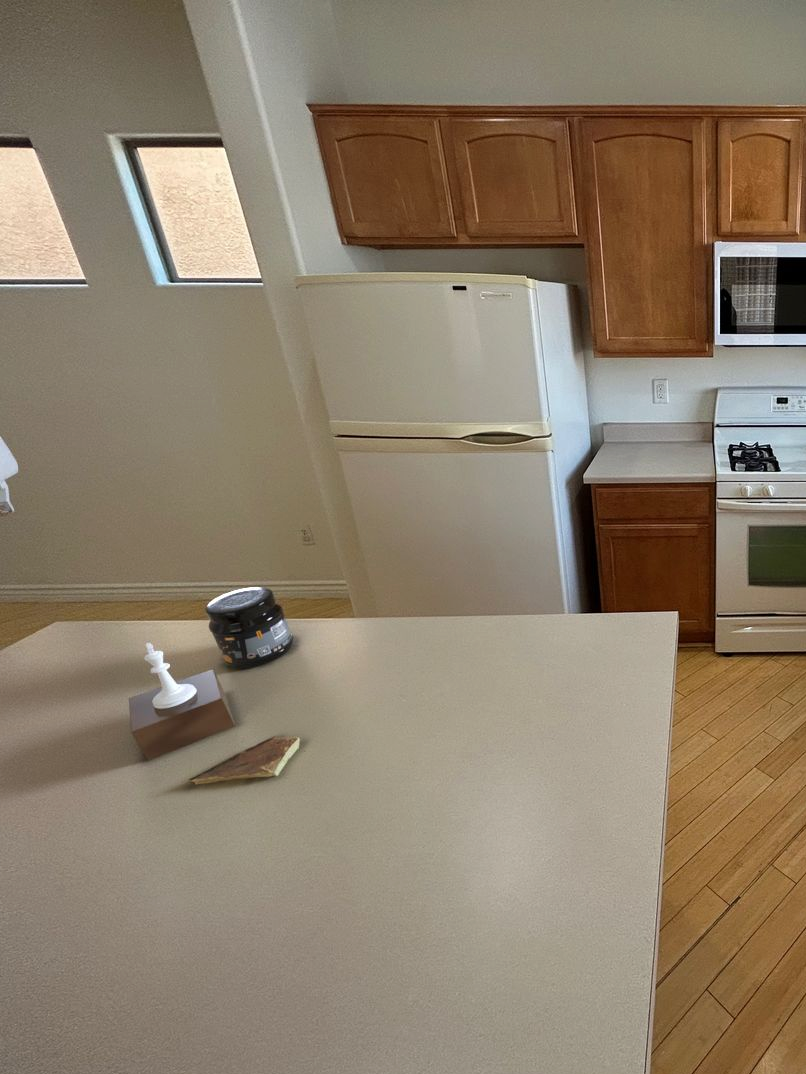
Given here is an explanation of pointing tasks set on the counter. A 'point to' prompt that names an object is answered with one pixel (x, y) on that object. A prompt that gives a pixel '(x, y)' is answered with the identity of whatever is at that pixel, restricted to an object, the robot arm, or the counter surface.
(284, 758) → the shard
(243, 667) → the supplement container
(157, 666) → the chess piece
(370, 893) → the counter surface
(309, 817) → the counter surface
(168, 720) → the walnut block
